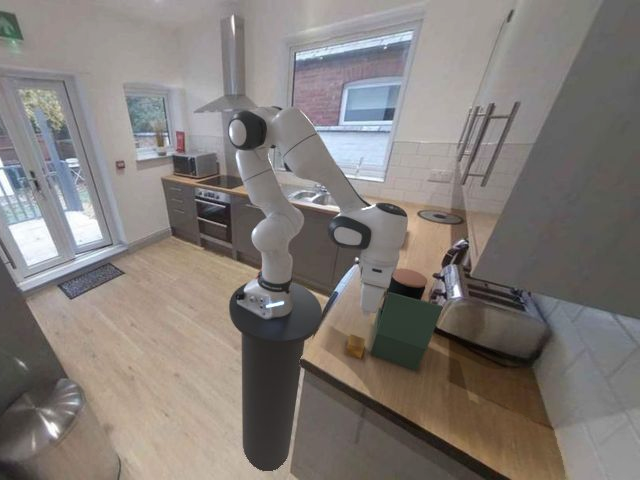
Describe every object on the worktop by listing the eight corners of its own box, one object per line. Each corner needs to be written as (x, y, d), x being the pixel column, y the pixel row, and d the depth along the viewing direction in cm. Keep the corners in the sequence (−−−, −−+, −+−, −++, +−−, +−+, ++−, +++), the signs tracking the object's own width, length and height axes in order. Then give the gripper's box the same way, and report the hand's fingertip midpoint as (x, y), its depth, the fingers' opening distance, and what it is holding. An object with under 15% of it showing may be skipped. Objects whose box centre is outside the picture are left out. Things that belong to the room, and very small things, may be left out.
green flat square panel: (388, 291, 72) (388, 293, 72) (442, 305, 67) (443, 307, 66) (376, 332, 78) (376, 333, 77) (425, 348, 72) (426, 350, 71)
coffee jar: (395, 303, 103) (408, 266, 95) (419, 322, 94) (435, 282, 86) (374, 309, 100) (385, 271, 92) (396, 328, 91) (411, 288, 83)
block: (345, 353, 82) (348, 343, 80) (347, 343, 85) (350, 333, 83) (360, 359, 80) (363, 348, 78) (362, 348, 83) (365, 338, 81)
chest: (373, 326, 92) (378, 307, 88) (413, 339, 86) (421, 319, 83) (370, 354, 81) (376, 333, 77) (416, 371, 76) (425, 350, 72)
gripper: (367, 245, 77) (359, 283, 83) (360, 279, 61) (351, 323, 67) (391, 250, 75) (381, 288, 81) (390, 286, 59) (377, 331, 65)
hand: (367, 304), depth 74 cm, fingers open, 8 cm apart
